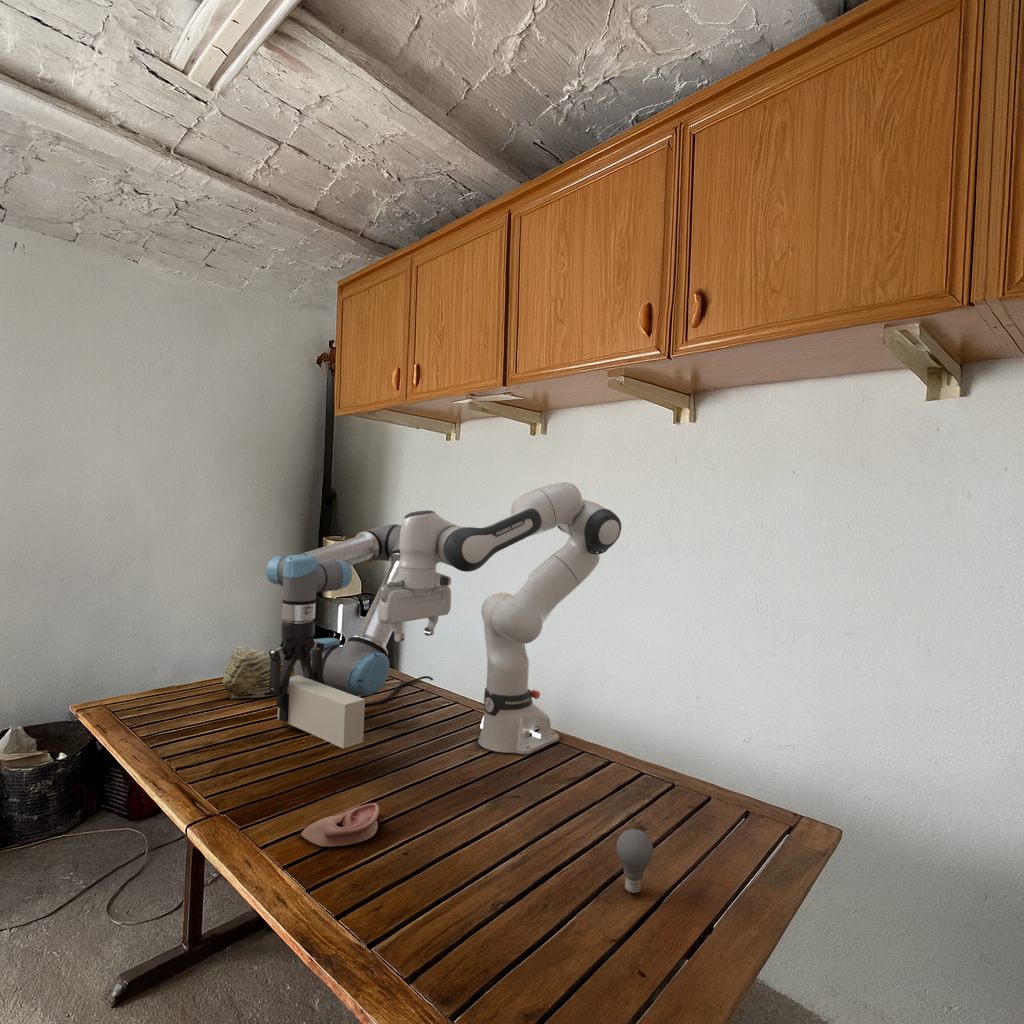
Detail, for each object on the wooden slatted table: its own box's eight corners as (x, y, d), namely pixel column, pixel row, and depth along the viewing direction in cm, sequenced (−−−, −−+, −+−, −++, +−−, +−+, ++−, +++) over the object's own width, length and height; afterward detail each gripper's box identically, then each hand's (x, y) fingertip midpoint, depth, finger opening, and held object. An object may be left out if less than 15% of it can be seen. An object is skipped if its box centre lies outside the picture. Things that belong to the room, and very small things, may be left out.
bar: (277, 718, 151) (278, 679, 151) (297, 713, 155) (298, 675, 155) (343, 748, 135) (345, 704, 135) (363, 742, 139) (365, 699, 139)
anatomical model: (293, 820, 116) (324, 792, 127) (292, 842, 116) (323, 812, 127) (360, 831, 113) (386, 801, 124) (359, 853, 113) (385, 821, 124)
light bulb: (610, 879, 108) (613, 822, 108) (644, 879, 109) (647, 822, 109) (619, 902, 102) (622, 840, 102) (655, 901, 103) (658, 840, 103)
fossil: (218, 695, 195) (220, 647, 195) (278, 685, 208) (279, 640, 207) (228, 703, 189) (230, 653, 188) (289, 692, 201) (290, 645, 201)
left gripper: (271, 628, 141) (267, 731, 141) (340, 618, 155) (336, 712, 156) (253, 622, 146) (250, 723, 146) (322, 613, 160) (318, 705, 160)
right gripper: (391, 584, 139) (389, 647, 139) (456, 577, 155) (453, 634, 155) (373, 581, 143) (370, 642, 143) (437, 575, 159) (435, 630, 159)
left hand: (294, 717), depth 151 cm, fingers closed on bar, 5 cm apart
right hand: (414, 638), depth 149 cm, fingers open, 8 cm apart
